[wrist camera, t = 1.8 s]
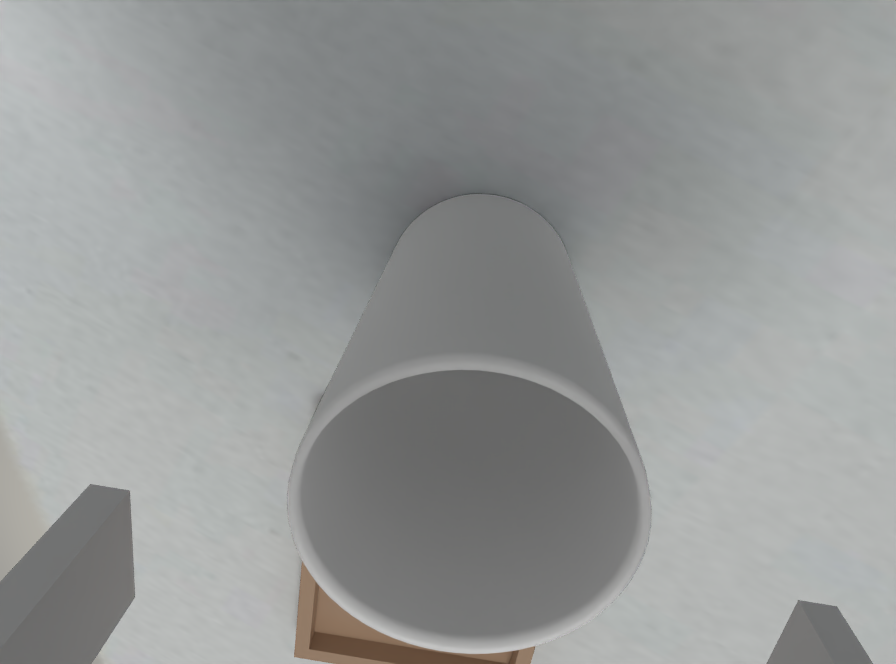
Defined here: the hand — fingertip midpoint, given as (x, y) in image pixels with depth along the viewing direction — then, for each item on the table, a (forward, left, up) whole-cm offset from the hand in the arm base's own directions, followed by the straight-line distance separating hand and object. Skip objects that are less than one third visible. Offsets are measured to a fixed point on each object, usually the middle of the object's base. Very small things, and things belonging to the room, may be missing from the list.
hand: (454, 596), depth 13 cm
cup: (0, 0, -18) cm, 18 cm away
